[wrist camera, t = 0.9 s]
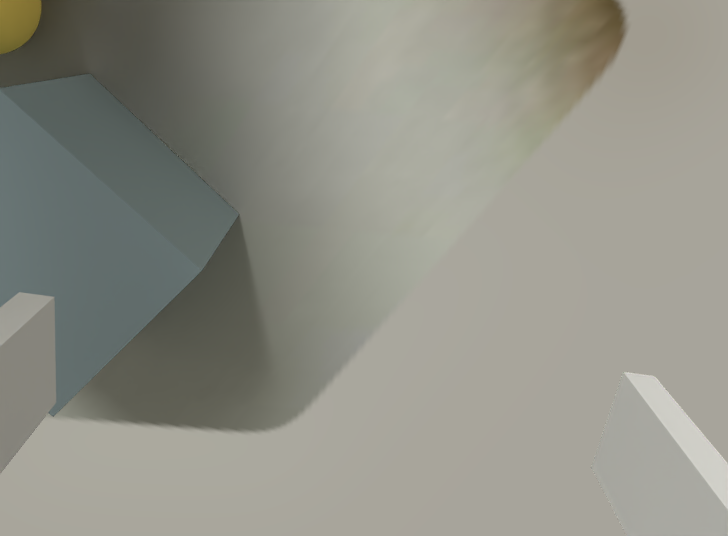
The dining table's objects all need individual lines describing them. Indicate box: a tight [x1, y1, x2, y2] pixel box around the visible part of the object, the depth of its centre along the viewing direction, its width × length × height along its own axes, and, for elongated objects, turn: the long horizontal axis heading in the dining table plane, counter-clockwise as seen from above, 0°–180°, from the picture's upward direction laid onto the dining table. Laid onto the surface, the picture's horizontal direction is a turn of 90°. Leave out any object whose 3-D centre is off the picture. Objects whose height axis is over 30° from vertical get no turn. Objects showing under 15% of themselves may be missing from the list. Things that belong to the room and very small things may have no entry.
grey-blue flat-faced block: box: [0, 74, 239, 416], centre depth 31 cm, size 10×10×9 cm
